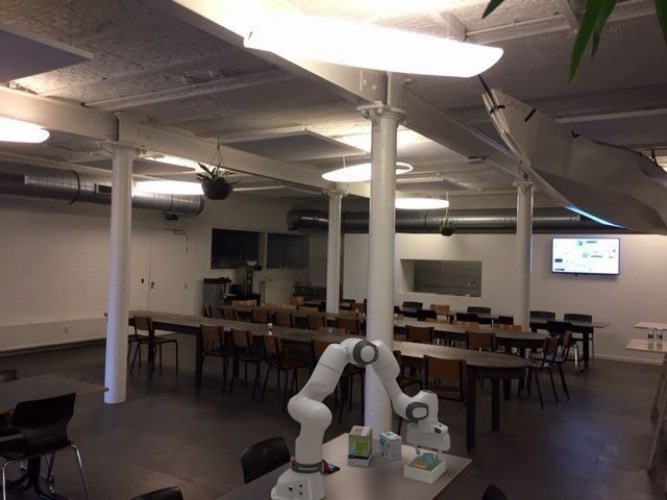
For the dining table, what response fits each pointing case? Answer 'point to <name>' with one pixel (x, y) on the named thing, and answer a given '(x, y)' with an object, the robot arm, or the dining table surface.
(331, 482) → the dining table surface
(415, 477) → the grey tote
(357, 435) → the tea box
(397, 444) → the light bulb box
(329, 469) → the handheld game console
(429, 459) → the teal cylinder
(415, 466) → the oak cube
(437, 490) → the dining table surface
